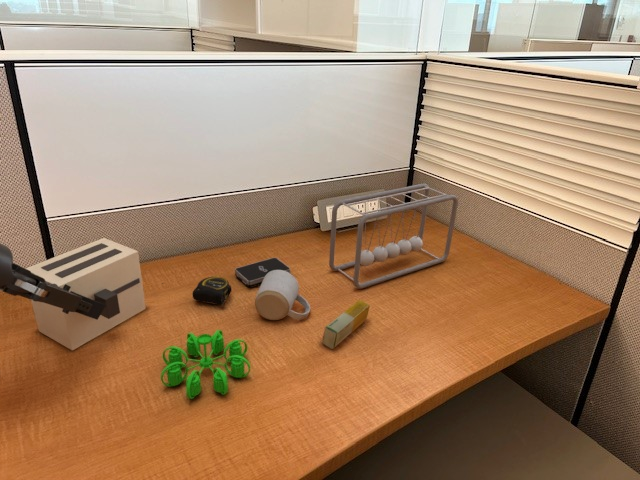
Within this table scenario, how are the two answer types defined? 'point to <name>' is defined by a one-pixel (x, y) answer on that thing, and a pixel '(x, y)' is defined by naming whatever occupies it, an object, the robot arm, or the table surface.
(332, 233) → the newton's cradle
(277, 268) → the external hard drive
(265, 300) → the ceramic mug
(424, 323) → the table surface
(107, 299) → the slider button
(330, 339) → the medication box
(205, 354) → the chandelier
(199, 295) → the tape measure
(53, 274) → the toaster
